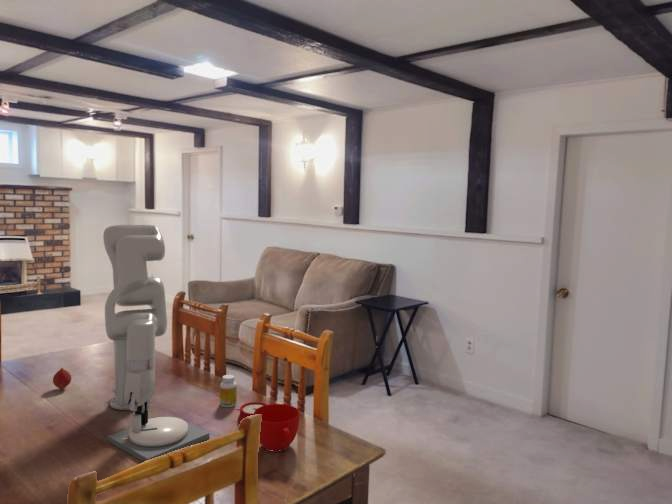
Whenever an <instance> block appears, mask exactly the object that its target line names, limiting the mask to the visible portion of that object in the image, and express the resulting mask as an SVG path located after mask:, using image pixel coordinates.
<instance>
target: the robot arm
mask: <svg viewBox="0 0 672 504" xmlns="http://www.w3.org/2000/svg"><path fill="white" fill-rule="evenodd" d="M102 237H103V245H104V249H105V251H106V254H107V256H108V259H109V261H110V263H111V267H112V280H113V281H112V282H113V288H112V290H111V291H110V293H109V294H108V296H107V299H106V300H105V305H104V321H105V323H104V325H105V333H106V337H107V338H108V339H109V340H111V341H113V354H114V355H113V357H114V387H113V388H112V390H111V391H112V393H114V397H113V398H112V399H111V400H110V401H109V406H110V407H111V408H112V409H115V410H119V411H130V412H133V413H134V415H135V414H140V415H141V425H146V424H147V423H148V419H149V407H150V402H151V398H152V397H153V396H154V395H155V392H156V372H155V371H156V369H155V368H156V337H157V338H158V337H162V336H164V335H165V334H166V332H167V330H168V318H167V305H166V291H165V285H164V282H163V281H162V279H161V278H159V277H154V276H148V266H147V262H161V261H162V260H163V259H164V257H165V254H166V246H165V241H164V238H163V235H162V234H161V232H160V229H159V227H158V226H156V225H152V224H115V225H110V226H108V227H106V228H105V229H104V232H103V235H102ZM116 305H118V306H120V307H140V306H141V307H144V306H149V307H150V308H144V309H143V308H141V309H129V310H127V309H125V310H121V311H118V312H116Z"/></svg>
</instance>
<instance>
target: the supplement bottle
mask: <svg viewBox="0 0 672 504" xmlns="http://www.w3.org/2000/svg"><path fill="white" fill-rule="evenodd" d="M221 380H222V382H221V383H220V386H219V388H220V391H219V393H220V395H219V397H220V399H219V402H220V406H221V407H222V408H230V407H232V408H233V407H235V406H236V405H237V399H238V398H237V397H238V396H237V395H238V394H237V392H238V391H237V382H236V381H235V375H233V374H225V375H223V376H222V379H221Z"/></svg>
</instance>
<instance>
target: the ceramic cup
mask: <svg viewBox="0 0 672 504" xmlns="http://www.w3.org/2000/svg"><path fill="white" fill-rule="evenodd" d="M255 414H262V422H261V432H260V442H259V443H260V445H261V446H262V447H263V448H264V449H265V448H266V449H268V450H273V451H279V450H284V449H286V448H287V449H288V448H289V446H290V445H291V444H292V443H293V442H294V440H295V438H296V436H297V433H298V430H299V425H300V416H301V415H300V410H299V409H298V408H296V407H295V406H293V405H291V404H289V405H288V404H284V403H272V404H271V403H269V404H267V405H265V406H262V407H259V408H258V409H256V410H255V411H254V415H255ZM266 449H265V450H266ZM287 449H286V450H287ZM284 451H285V450H284Z"/></svg>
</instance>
